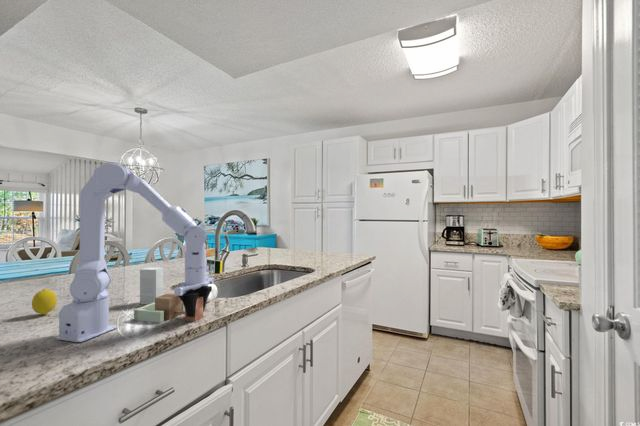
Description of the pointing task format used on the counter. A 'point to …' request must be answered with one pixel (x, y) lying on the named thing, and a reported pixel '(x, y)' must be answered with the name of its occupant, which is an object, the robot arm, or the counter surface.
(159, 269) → the skincare box
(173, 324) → the counter surface
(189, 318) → the tethered block
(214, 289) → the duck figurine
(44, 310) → the lemon
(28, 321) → the counter surface
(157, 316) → the green l-shaped block
